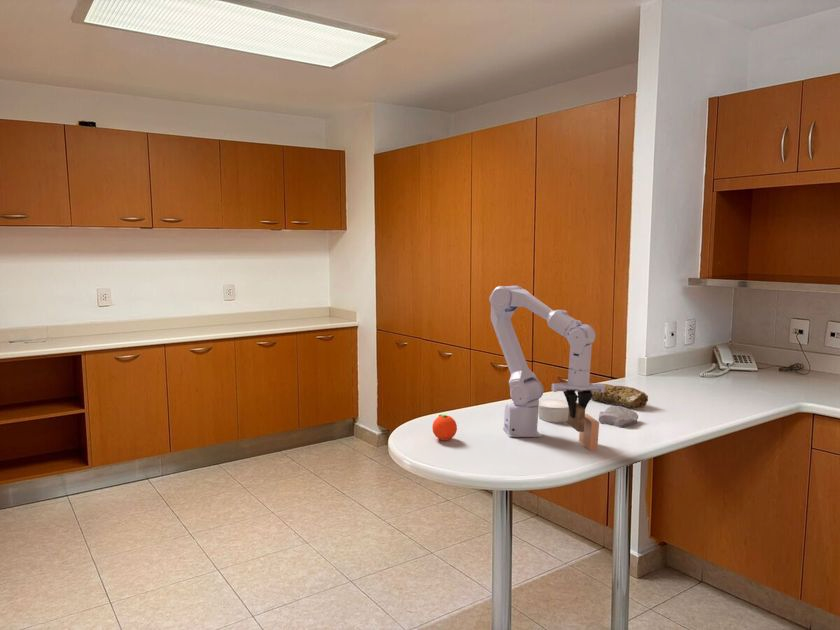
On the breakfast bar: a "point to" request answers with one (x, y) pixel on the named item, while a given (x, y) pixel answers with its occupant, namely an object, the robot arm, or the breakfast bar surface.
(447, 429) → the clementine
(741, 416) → the breakfast bar surface
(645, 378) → the breakfast bar surface
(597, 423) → the terracotta tile
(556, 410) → the ramekin
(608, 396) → the mossy brown rock
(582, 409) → the brown wooden block
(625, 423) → the stone block
